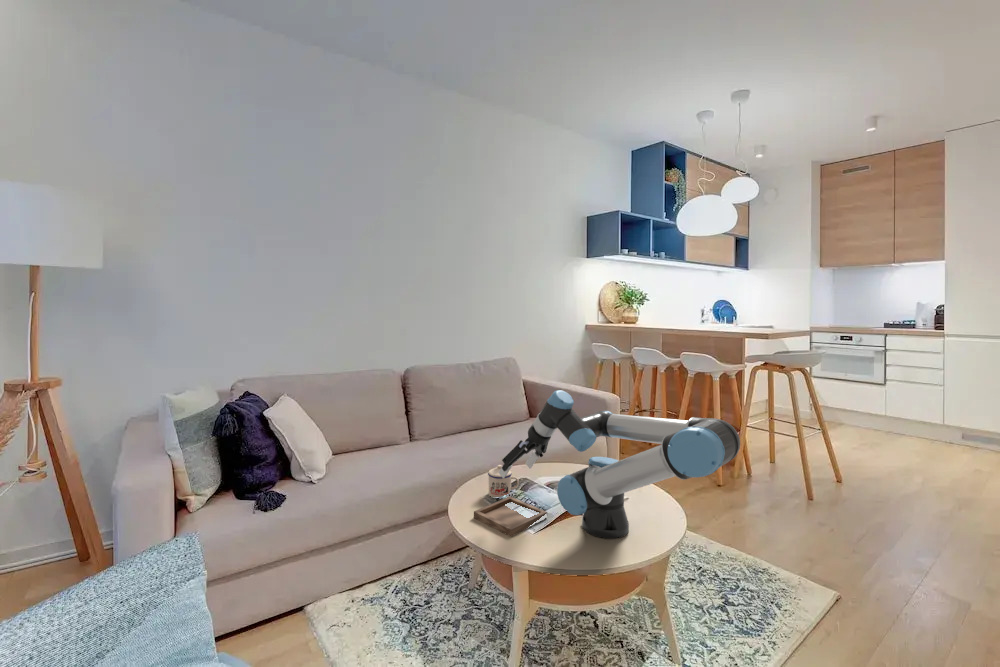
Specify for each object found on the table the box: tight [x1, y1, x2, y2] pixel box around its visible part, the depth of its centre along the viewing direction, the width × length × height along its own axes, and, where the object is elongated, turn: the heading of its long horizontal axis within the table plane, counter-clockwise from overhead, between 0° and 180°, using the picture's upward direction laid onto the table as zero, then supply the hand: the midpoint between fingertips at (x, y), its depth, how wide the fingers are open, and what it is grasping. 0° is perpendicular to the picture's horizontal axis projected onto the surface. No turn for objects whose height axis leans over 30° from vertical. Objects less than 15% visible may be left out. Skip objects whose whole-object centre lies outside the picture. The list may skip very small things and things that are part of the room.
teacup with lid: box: [487, 464, 520, 498], centre depth 181 cm, size 12×9×12 cm
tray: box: [473, 496, 548, 537], centre depth 162 cm, size 18×18×2 cm
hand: (515, 470), depth 166 cm, fingers open, 13 cm apart
